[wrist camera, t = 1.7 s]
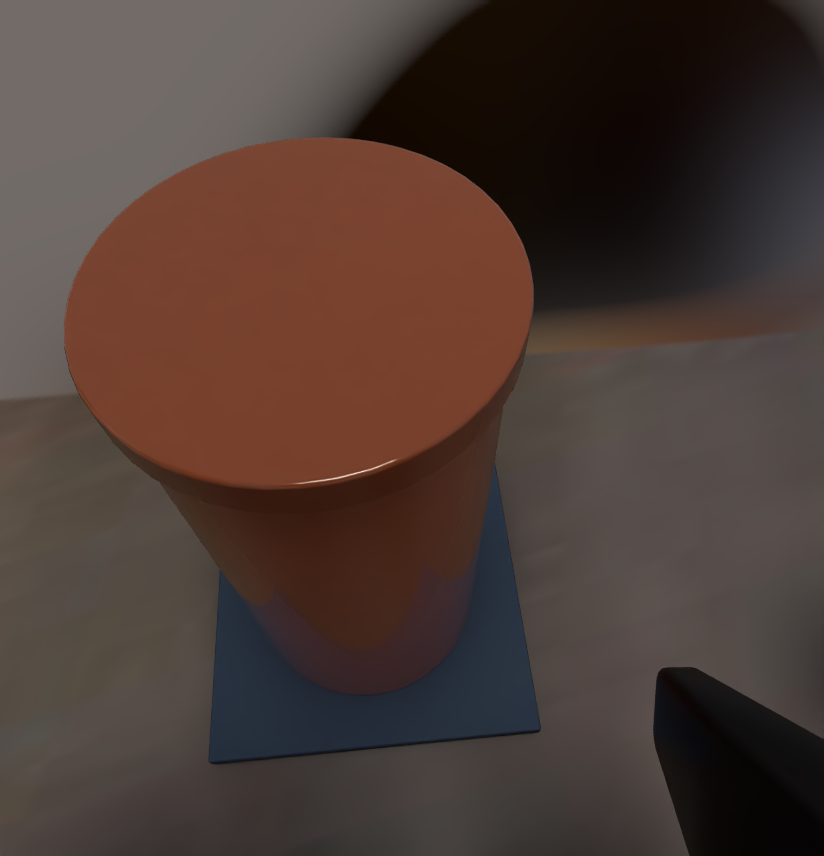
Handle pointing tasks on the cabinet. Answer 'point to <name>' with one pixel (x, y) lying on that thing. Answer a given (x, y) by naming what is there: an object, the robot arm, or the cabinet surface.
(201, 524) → the terracotta cylinder canister
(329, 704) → the blue mat
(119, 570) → the cabinet surface
